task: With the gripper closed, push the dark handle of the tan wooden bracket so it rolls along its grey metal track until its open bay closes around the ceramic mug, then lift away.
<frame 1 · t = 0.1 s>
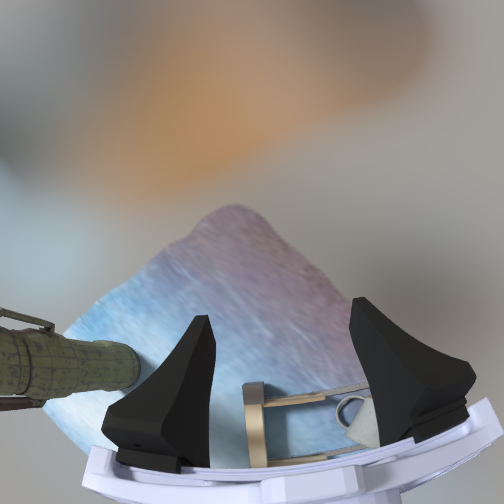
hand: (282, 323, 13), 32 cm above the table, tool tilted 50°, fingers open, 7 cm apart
ceramic mug: (361, 416, 37), on the table
tan wooden bracket: (286, 426, 36), point 3 cm above the table, slide at 10.0 cm
thermos: (121, 365, 43), on the table
track: (363, 416, 37), on the table
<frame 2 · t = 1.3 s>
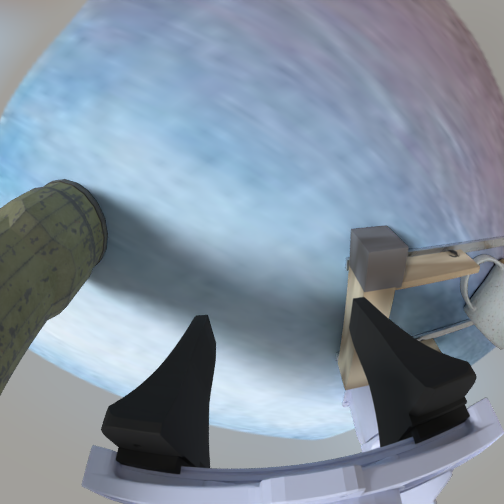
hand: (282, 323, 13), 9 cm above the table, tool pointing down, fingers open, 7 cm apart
ceramic mug: (480, 282, 24), on the table
tan wooden bracket: (411, 310, 21), point 3 cm above the table, slide at 10.0 cm
thermos: (68, 227, 20), on the table
track: (482, 285, 23), on the table
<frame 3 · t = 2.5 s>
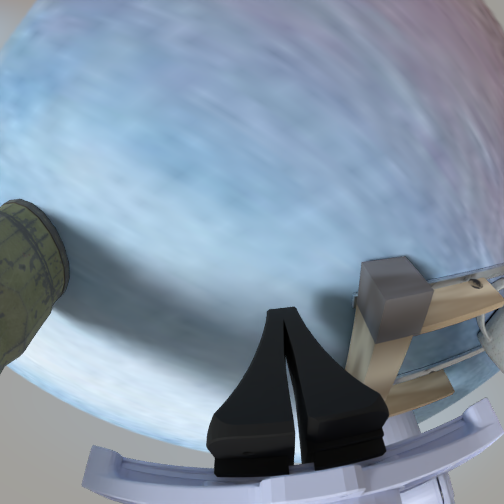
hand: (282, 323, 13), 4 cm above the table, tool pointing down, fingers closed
ceramic mug: (496, 306, 19), on the table
tan wooden bracket: (425, 350, 17), point 3 cm above the table, slide at 10.0 cm
thermos: (29, 252, 16), on the table
track: (499, 310, 19), on the table
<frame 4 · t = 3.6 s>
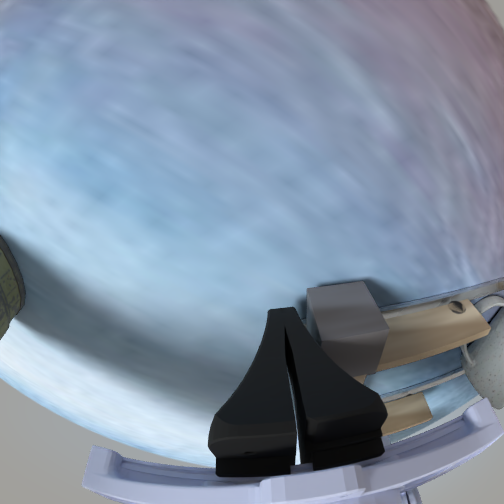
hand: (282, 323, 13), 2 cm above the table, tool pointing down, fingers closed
ceramic mug: (483, 324, 18), on the table
tan wooden bracket: (393, 379, 15), point 3 cm above the table, slide at 9.9 cm, touching gripper
track: (487, 329, 18), on the table
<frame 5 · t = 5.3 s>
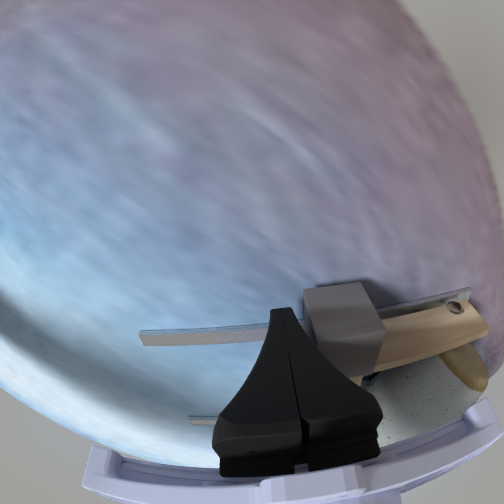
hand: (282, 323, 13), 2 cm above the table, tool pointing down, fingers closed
ceramic mug: (397, 352, 18), on the table
tan wooden bracket: (391, 380, 15), point 3 cm above the table, slide at -0.1 cm, touching gripper
track: (407, 357, 18), on the table
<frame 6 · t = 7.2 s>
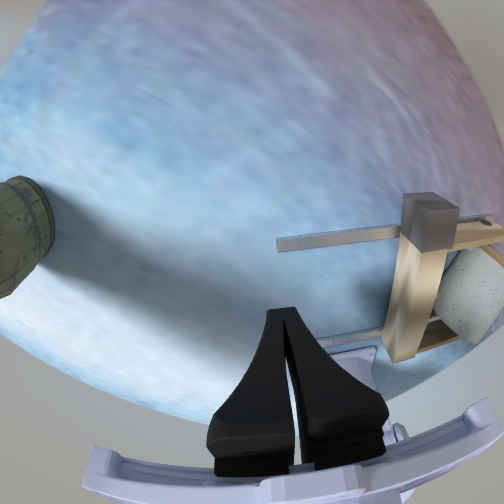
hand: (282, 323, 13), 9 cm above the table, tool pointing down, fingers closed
ceramic mug: (447, 266, 23), on the table
tan wooden bracket: (453, 277, 20), point 3 cm above the table, slide at 0.0 cm
thermos: (25, 218, 19), on the table
track: (456, 271, 23), on the table
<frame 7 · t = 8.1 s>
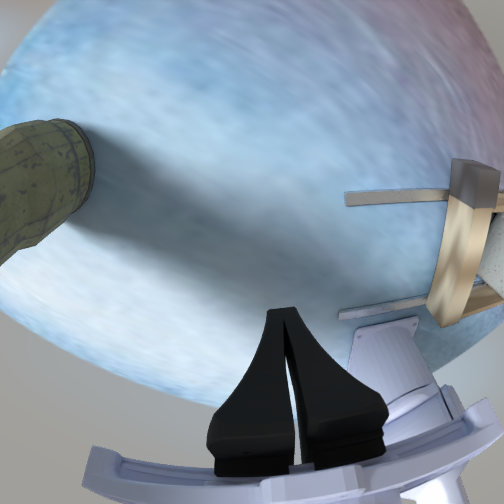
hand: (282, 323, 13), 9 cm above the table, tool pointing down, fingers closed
ceramic mug: (481, 235, 22), on the table
tan wooden bracket: (491, 243, 19), point 3 cm above the table, slide at 0.1 cm
thermos: (57, 168, 18), on the table
track: (489, 242, 22), on the table
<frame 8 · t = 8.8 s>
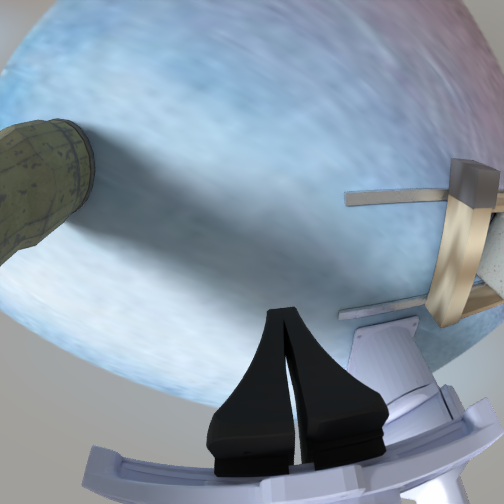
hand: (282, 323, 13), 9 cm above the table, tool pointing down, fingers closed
ceramic mug: (481, 235, 22), on the table
tan wooden bracket: (490, 243, 19), point 3 cm above the table, slide at 0.2 cm
thermos: (57, 168, 18), on the table
track: (489, 242, 22), on the table
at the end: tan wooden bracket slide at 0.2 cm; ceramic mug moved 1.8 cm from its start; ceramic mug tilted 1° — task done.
